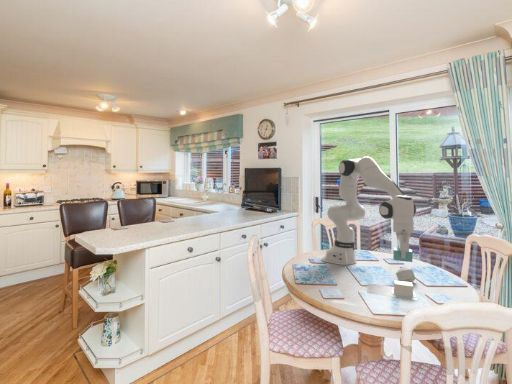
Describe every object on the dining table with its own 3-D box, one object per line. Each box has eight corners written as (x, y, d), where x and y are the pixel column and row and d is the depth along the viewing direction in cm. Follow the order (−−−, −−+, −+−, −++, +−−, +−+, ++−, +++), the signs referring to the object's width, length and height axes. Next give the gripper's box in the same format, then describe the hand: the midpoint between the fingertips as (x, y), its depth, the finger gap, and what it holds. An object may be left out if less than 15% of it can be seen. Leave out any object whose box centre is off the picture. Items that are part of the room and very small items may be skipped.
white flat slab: (367, 294, 136) (367, 292, 136) (367, 284, 148) (367, 282, 148) (417, 302, 128) (417, 300, 127) (414, 291, 139) (414, 289, 139)
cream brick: (394, 293, 135) (394, 283, 135) (393, 289, 140) (394, 280, 139) (413, 296, 132) (413, 286, 131) (411, 292, 136) (412, 282, 136)
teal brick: (393, 260, 134) (393, 250, 133) (393, 257, 138) (393, 247, 138) (412, 262, 130) (412, 251, 130) (411, 259, 135) (411, 249, 135)
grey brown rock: (402, 288, 145) (416, 274, 143) (389, 275, 152) (402, 262, 149) (408, 289, 151) (421, 276, 148) (395, 276, 157) (408, 264, 155)
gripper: (413, 233, 123) (412, 263, 124) (408, 225, 141) (407, 251, 142) (397, 232, 125) (396, 261, 126) (394, 224, 144) (394, 250, 145)
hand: (402, 256), depth 134 cm, fingers closed on teal brick, 5 cm apart
